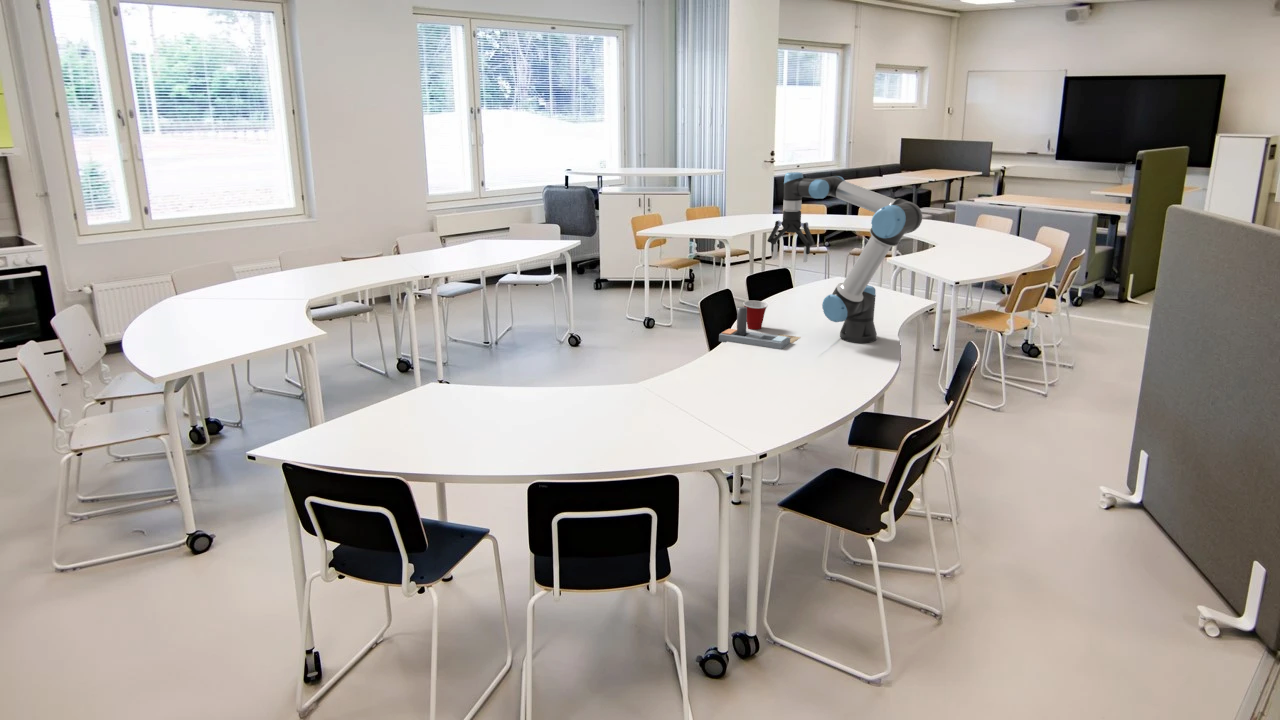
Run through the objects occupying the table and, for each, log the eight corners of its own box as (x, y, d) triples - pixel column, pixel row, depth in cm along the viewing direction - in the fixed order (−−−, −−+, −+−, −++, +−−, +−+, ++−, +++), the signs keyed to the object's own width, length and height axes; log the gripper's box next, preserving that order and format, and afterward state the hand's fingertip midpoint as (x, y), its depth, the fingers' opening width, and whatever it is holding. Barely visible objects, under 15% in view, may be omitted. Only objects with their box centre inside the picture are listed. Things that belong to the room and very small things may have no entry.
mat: (800, 338, 351) (800, 337, 351) (792, 344, 343) (792, 343, 343) (778, 335, 356) (778, 334, 356) (769, 341, 348) (769, 339, 348)
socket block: (790, 344, 344) (790, 336, 343) (780, 350, 336) (781, 342, 334) (729, 335, 357) (729, 327, 356) (718, 341, 349) (719, 333, 348)
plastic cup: (758, 334, 359) (759, 307, 355) (737, 330, 365) (738, 303, 362) (771, 328, 367) (772, 302, 363) (751, 324, 373) (751, 298, 369)
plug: (747, 339, 350) (748, 307, 346) (743, 341, 347) (744, 309, 343) (738, 338, 352) (739, 306, 348) (734, 340, 349) (735, 308, 345)
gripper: (823, 210, 342) (821, 261, 348) (767, 207, 354) (766, 256, 361) (817, 213, 336) (815, 264, 342) (760, 209, 348) (759, 259, 355)
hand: (790, 260), depth 352 cm, fingers open, 13 cm apart
